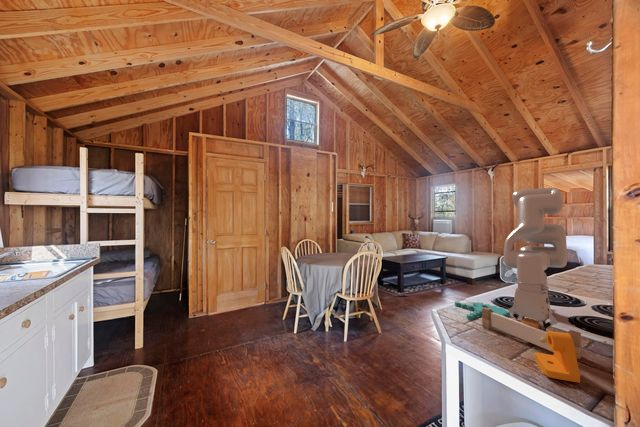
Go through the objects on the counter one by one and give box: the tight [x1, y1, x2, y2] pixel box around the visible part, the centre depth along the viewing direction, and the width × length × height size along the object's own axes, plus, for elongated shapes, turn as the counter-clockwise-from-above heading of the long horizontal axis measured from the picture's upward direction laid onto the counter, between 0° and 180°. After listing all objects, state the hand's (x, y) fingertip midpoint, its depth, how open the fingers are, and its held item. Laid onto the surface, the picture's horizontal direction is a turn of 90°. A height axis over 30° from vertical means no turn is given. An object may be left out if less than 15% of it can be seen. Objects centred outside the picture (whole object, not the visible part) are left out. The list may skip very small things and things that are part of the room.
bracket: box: [534, 330, 581, 384], centre depth 78 cm, size 11×7×12 cm, turn 156°
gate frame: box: [481, 307, 583, 360], centre depth 97 cm, size 3×30×8 cm, turn 32°
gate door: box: [491, 312, 554, 353], centre depth 96 cm, size 2×24×6 cm, turn 17°
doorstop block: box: [521, 317, 540, 329], centre depth 96 cm, size 5×5×6 cm
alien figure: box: [454, 301, 511, 321], centre depth 125 cm, size 20×2×20 cm
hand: (532, 335), depth 96 cm, fingers closed on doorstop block, 5 cm apart
